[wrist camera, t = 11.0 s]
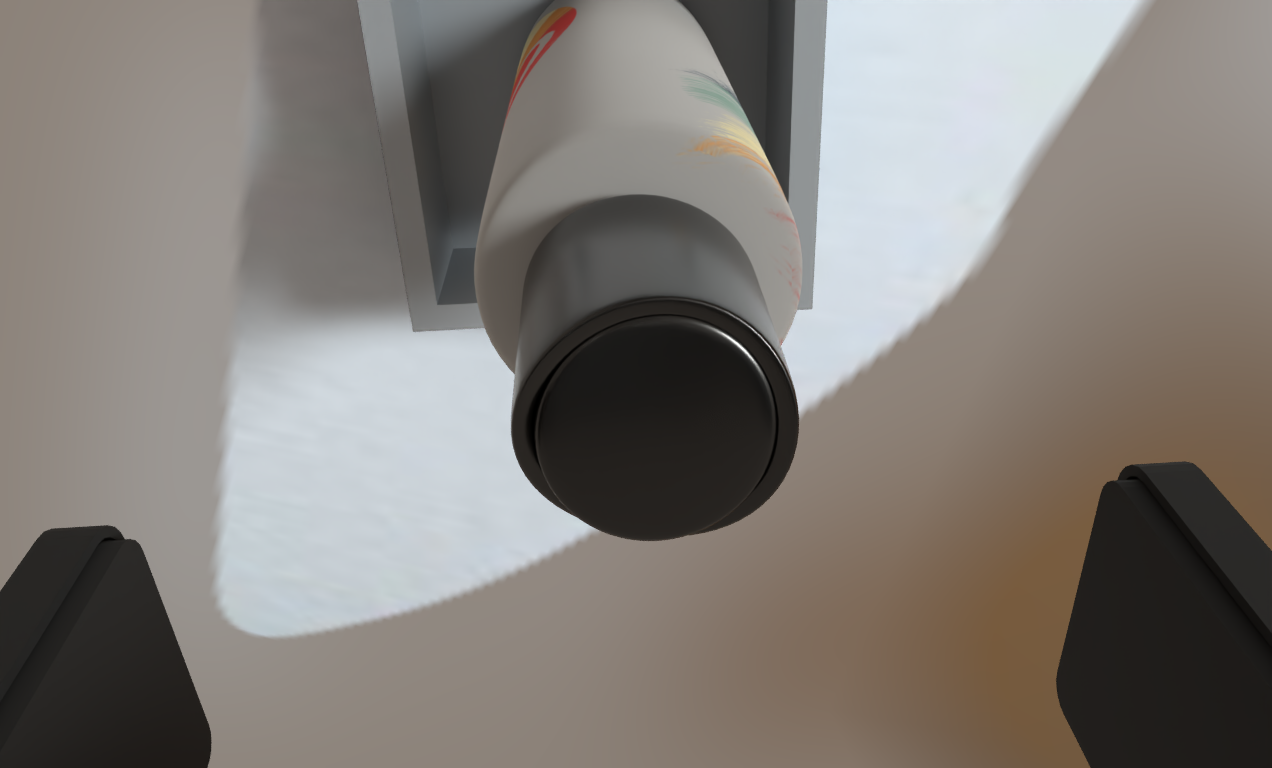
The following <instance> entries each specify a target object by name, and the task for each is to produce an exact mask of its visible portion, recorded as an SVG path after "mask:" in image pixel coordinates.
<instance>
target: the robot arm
mask: <svg viewBox="0 0 1272 768" xmlns="http://www.w3.org/2000/svg"><path fill="white" fill-rule="evenodd" d="M1056 682H1057V683H1056V684H1057V694H1058V699H1059V702H1060V706H1061V708H1062V711H1063V714H1064V716H1065V718H1066V720H1067V722H1068V724H1069V725H1070V727H1071V729H1072V731H1073V733H1074V735H1075V737H1076V739H1077V741H1078V743H1079V745H1080V747H1081V749H1082V751H1083V753H1084V755H1085V757H1086V759H1087V761H1088V763H1089V765H1090V767H1091V768H1272V551H1271V549H1270V548H1269V547H1268V546H1267V545H1266V544H1265V543H1264V541H1263V540H1262V539H1261V538H1260V537H1259V536H1258V535H1257V533H1256V532H1255V531H1254V530H1253V529H1252V528H1251V527H1250V526H1249V524H1248V523H1247V522H1246V521H1245V520H1244V519H1243V517H1242V516H1241V515H1240V514H1239V513H1238V512H1237V510H1236V509H1235V508H1234V507H1233V506H1232V505H1231V504H1230V502H1229V501H1228V500H1227V499H1226V498H1225V497H1224V496H1223V495H1222V493H1221V492H1220V491H1219V490H1218V489H1217V488H1216V487H1215V485H1214V484H1213V483H1212V482H1211V481H1210V480H1209V478H1208V477H1207V476H1206V475H1205V474H1204V473H1203V472H1202V470H1201V469H1199V468H1198V467H1197V466H1196V465H1195V464H1193V463H1189V462H1170V463H1154V464H1136V465H1130V466H1127V467H1125V468H1124V469H1123V470H1122V472H1121V473H1120V475H1119V477H1118V480H1117V481H1110V482H1107V483H1106V484H1105V486H1104V487H1103V489H1102V492H1101V495H1100V499H1099V503H1098V507H1097V511H1096V515H1095V519H1094V524H1093V528H1092V532H1091V536H1090V540H1089V544H1088V548H1087V552H1086V556H1085V560H1084V564H1083V569H1082V573H1081V577H1080V581H1079V585H1078V589H1077V593H1076V598H1075V601H1074V606H1073V610H1072V614H1071V618H1070V622H1069V626H1068V630H1067V634H1066V638H1065V643H1064V647H1063V651H1062V655H1061V659H1060V663H1059V667H1058V672H1057V678H1056ZM210 754H211V731H210V728H209V724H208V721H207V719H206V716H205V714H204V711H203V708H202V705H201V703H200V700H199V698H198V695H197V692H196V690H195V687H194V684H193V682H192V679H191V676H190V674H189V671H188V668H187V666H186V663H185V660H184V658H183V655H182V653H181V650H180V647H179V645H178V642H177V640H176V637H175V634H174V631H173V629H172V626H171V624H170V621H169V618H168V615H167V613H166V610H165V607H164V605H163V602H162V600H161V597H160V594H159V592H158V589H157V587H156V584H155V581H154V578H153V576H152V573H151V570H150V568H149V565H148V562H147V560H146V557H145V555H144V552H143V550H142V548H141V546H140V544H139V543H138V542H137V541H136V540H131V539H127V540H126V539H124V537H123V536H122V534H121V532H120V531H119V530H118V529H117V528H115V527H113V526H108V525H106V526H89V527H75V528H74V527H73V528H57V529H56V528H55V529H50V530H47V531H45V532H43V533H42V535H40V537H39V538H38V539H37V540H36V542H35V543H34V544H33V546H32V547H31V548H30V550H29V551H28V553H27V554H26V556H25V557H24V558H23V560H22V561H21V563H20V564H19V565H18V567H17V568H16V570H15V571H14V573H13V574H12V575H11V577H10V578H9V580H8V581H7V582H6V584H5V585H4V587H3V588H2V590H1V591H0V768H207V767H208V763H209V759H210Z"/></svg>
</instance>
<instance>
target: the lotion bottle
mask: <svg viewBox="0 0 1272 768" xmlns="http://www.w3.org/2000/svg"><path fill="white" fill-rule="evenodd" d="M474 281H475V290H476V298H477V303H478V307H479V311H480V315H481V319H482V321H483V324H484V327H485V329H486V332H487V334H488V336H489V338H490V340H491V342H492V344H493V346H494V348H495V349H496V351H497V352H498V354H499V356H500V357H501V358H502V360H503V361H504V362H505V364H506V365H507V366H508V368H509V369H510V370H511V371H512V372H513V373H514V374H515V379H514V389H513V400H512V411H511V436H512V444H513V448H514V452H515V455H516V458H517V460H518V463H519V465H520V467H521V469H522V471H523V472H524V474H525V476H526V477H527V478H528V480H529V481H530V482H531V484H532V485H533V486H534V487H535V488H536V489H537V490H538V491H539V492H540V493H541V494H542V495H543V496H544V497H545V498H547V499H548V500H549V501H550V502H552V503H553V504H555V505H556V506H557V507H559V508H561V509H562V510H564V511H566V512H567V513H569V514H571V515H573V516H575V517H577V518H579V519H580V520H582V521H583V522H585V523H587V524H588V525H590V526H592V527H594V528H596V529H598V530H600V531H602V532H605V533H608V534H610V535H613V536H617V537H621V538H625V539H631V540H640V541H661V540H669V539H675V538H679V537H683V536H687V535H694V534H700V533H705V532H709V531H713V530H717V529H720V528H723V527H725V526H728V525H731V524H733V523H735V522H737V521H739V520H741V519H743V518H744V517H746V516H748V515H750V514H751V513H753V512H754V511H755V510H757V509H758V508H759V507H760V506H761V505H763V504H764V503H765V502H766V501H767V500H768V499H769V498H770V497H771V496H772V495H773V494H774V492H775V491H776V490H777V489H778V487H779V486H780V484H781V483H782V482H783V480H784V478H785V476H786V474H787V472H788V470H789V468H790V466H791V463H792V460H793V458H794V454H795V450H796V446H797V440H798V433H799V414H798V404H797V399H796V394H795V389H794V385H793V382H792V379H791V376H790V372H789V369H788V366H787V363H786V360H785V357H784V354H783V352H782V349H781V345H782V343H783V341H784V340H785V338H786V336H787V334H788V331H789V329H790V327H791V325H792V322H793V320H794V317H795V314H796V311H797V307H798V303H799V299H800V293H801V286H802V253H801V245H800V239H799V234H798V230H797V227H796V224H795V220H794V217H793V215H792V212H791V210H790V207H789V205H788V202H787V200H786V198H785V195H784V193H783V191H782V189H781V186H780V184H779V182H778V180H777V178H776V176H775V174H774V172H773V169H772V167H771V165H770V163H769V161H768V159H767V157H766V155H765V153H764V151H763V149H762V147H761V145H760V143H759V141H758V139H757V137H756V135H755V133H754V131H753V129H752V127H751V125H750V123H749V121H748V119H747V117H746V115H745V113H744V111H743V109H742V107H741V105H740V103H739V101H738V98H737V96H736V94H735V92H734V90H733V88H732V86H731V84H730V82H729V80H728V78H727V76H726V74H725V72H724V70H723V68H722V66H721V64H720V62H719V60H718V58H717V56H716V54H715V52H714V50H713V48H712V46H711V44H710V42H709V40H708V38H707V37H706V35H705V33H704V31H703V29H702V28H701V26H700V25H699V23H698V22H697V20H696V19H695V17H694V16H693V15H692V14H691V12H690V11H689V10H688V9H687V8H686V7H685V6H684V5H683V4H682V3H681V2H680V1H679V0H555V1H553V2H552V3H551V4H550V5H549V6H548V7H547V8H546V10H545V11H544V12H543V13H542V14H541V16H540V17H539V18H538V20H537V21H536V23H535V24H534V26H533V28H532V30H531V32H530V34H529V36H528V38H527V41H526V43H525V46H524V48H523V52H522V55H521V58H520V62H519V66H518V69H517V74H516V78H515V82H514V86H513V90H512V94H511V98H510V102H509V106H508V111H507V115H506V119H505V123H504V127H503V131H502V135H501V139H500V143H499V148H498V152H497V156H496V160H495V164H494V168H493V172H492V176H491V180H490V185H489V189H488V193H487V197H486V201H485V206H484V210H483V215H482V219H481V224H480V229H479V234H478V240H477V245H476V252H475V264H474Z"/></svg>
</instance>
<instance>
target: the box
mask: <svg viewBox="0 0 1272 768" xmlns="http://www.w3.org/2000/svg"><path fill="white" fill-rule="evenodd" d="M553 1H555V0H357V3H358V9H359V15H360V21H361V27H362V33H363V39H364V44H365V50H366V56H367V62H368V68H369V74H370V80H371V86H372V92H373V98H374V104H375V109H376V115H377V121H378V127H379V133H380V139H381V145H382V151H383V157H384V163H385V169H386V175H387V180H388V186H389V192H390V198H391V204H392V210H393V216H394V222H395V228H396V234H397V240H398V245H399V251H400V257H401V263H402V269H403V275H404V281H405V287H406V293H407V299H408V305H409V310H410V316H411V322H412V328H413V332H420V331H438V330H455V329H472V328H485V327H484V324H483V321H482V319H481V315H480V311H479V307H478V303H477V298H476V290H475V281H474V264H475V252H476V245H477V240H478V234H479V229H480V224H481V219H482V215H483V210H484V206H485V201H486V197H487V193H488V189H489V185H490V180H491V176H492V172H493V168H494V164H495V160H496V156H497V152H498V148H499V143H500V139H501V135H502V131H503V127H504V123H505V119H506V115H507V111H508V106H509V102H510V98H511V94H512V90H513V86H514V82H515V78H516V74H517V69H518V66H519V62H520V58H521V55H522V52H523V48H524V46H525V43H526V41H527V38H528V36H529V34H530V32H531V30H532V28H533V26H534V24H535V23H536V21H537V20H538V18H539V17H540V16H541V14H542V13H543V12H544V11H545V10H546V8H547V7H548V6H549V5H550V4H551V3H552V2H553ZM679 1H680V2H681V3H682V4H683V5H684V6H685V7H686V8H687V9H688V10H689V11H690V12H691V14H692V15H693V16H694V17H695V19H696V20H697V22H698V23H699V25H700V26H701V28H702V29H703V31H704V33H705V35H706V37H707V38H708V40H709V42H710V44H711V46H712V48H713V50H714V52H715V54H716V56H717V58H718V60H719V62H720V64H721V66H722V68H723V70H724V72H725V74H726V76H727V78H728V80H729V82H730V84H731V86H732V88H733V90H734V92H735V94H736V96H737V98H738V101H739V103H740V105H741V107H742V109H743V111H744V113H745V115H746V117H747V119H748V121H749V123H750V125H751V127H752V129H753V131H754V133H755V135H756V137H757V139H758V141H759V143H760V145H761V147H762V149H763V151H764V153H765V155H766V157H767V159H768V161H769V163H770V165H771V167H772V169H773V172H774V174H775V176H776V178H777V180H778V182H779V184H780V186H781V189H782V191H783V193H784V195H785V198H786V200H787V202H788V205H789V207H790V210H791V212H792V215H793V217H794V220H795V224H796V227H797V230H798V234H799V239H800V245H801V253H802V286H801V293H800V299H799V303H798V307H797V310H805V309H812V303H813V283H814V262H815V242H816V222H817V201H818V181H819V160H820V140H821V120H822V99H823V79H824V59H825V38H826V18H827V0H679Z"/></svg>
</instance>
